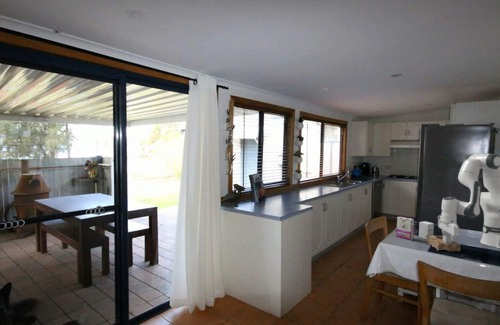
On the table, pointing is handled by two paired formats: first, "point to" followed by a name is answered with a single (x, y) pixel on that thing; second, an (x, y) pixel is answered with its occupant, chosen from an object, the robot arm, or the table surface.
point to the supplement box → (425, 229)
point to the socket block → (442, 243)
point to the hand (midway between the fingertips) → (448, 238)
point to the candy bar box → (405, 228)
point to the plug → (447, 239)
